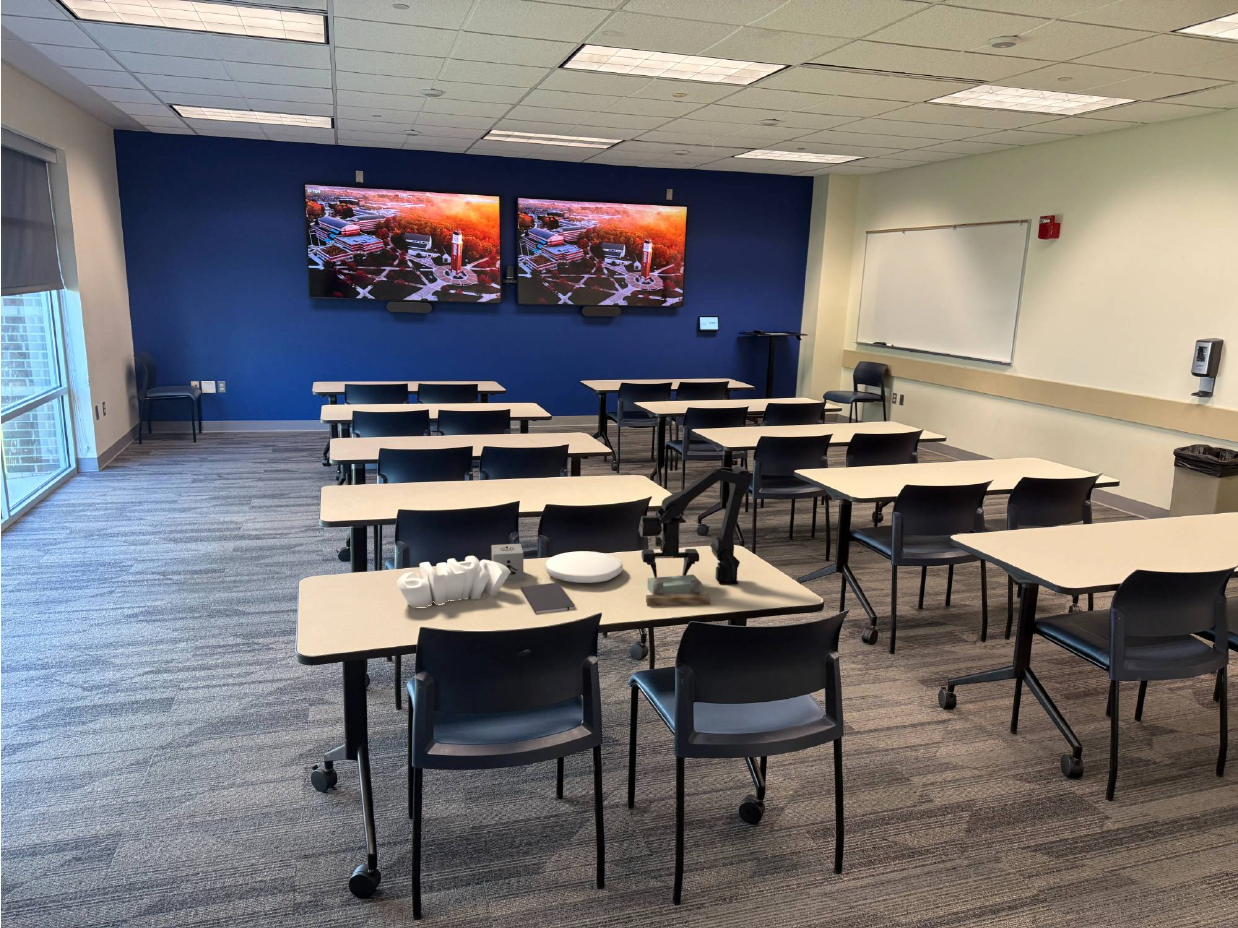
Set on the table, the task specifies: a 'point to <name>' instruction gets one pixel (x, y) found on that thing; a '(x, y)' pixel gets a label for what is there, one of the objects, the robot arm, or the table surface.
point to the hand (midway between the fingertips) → (669, 579)
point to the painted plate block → (674, 584)
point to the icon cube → (510, 560)
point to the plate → (583, 566)
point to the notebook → (547, 598)
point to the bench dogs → (677, 596)
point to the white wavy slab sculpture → (452, 581)
